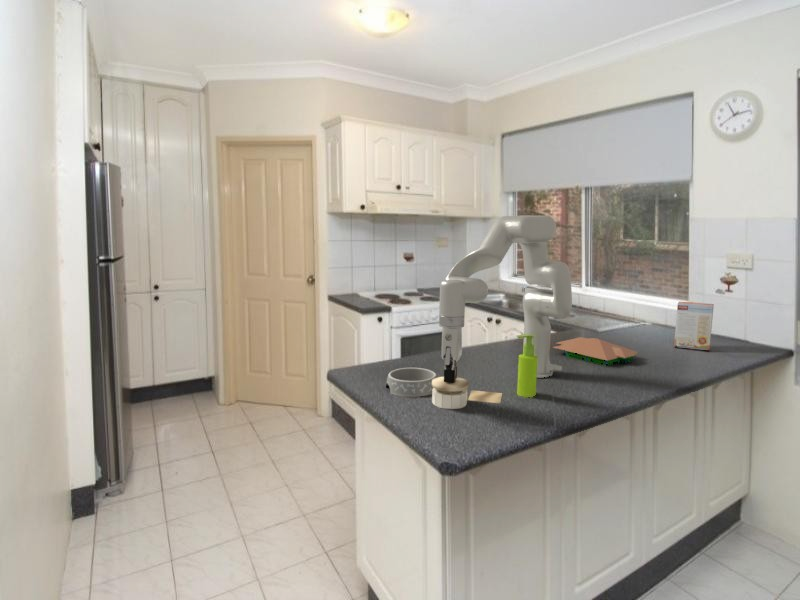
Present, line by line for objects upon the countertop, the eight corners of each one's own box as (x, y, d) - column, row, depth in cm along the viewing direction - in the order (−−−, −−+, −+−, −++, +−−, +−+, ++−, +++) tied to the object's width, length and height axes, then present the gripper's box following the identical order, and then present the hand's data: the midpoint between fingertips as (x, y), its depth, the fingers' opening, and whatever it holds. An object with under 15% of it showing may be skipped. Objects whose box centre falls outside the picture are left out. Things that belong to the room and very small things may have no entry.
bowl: (468, 400, 161) (469, 386, 161) (463, 411, 151) (464, 396, 151) (436, 396, 164) (436, 383, 163) (429, 408, 154) (429, 393, 153)
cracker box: (709, 349, 232) (714, 303, 229) (709, 352, 227) (714, 305, 224) (674, 345, 239) (678, 300, 236) (673, 347, 234) (677, 302, 231)
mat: (502, 394, 167) (502, 393, 167) (500, 404, 158) (500, 403, 157) (471, 391, 170) (471, 390, 170) (467, 401, 160) (467, 400, 160)
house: (613, 370, 198) (614, 349, 197) (543, 352, 224) (544, 334, 223) (644, 361, 212) (646, 342, 210) (575, 345, 238) (576, 328, 237)
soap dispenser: (511, 392, 169) (514, 333, 166) (532, 392, 169) (535, 332, 166) (517, 398, 163) (519, 337, 160) (538, 398, 164) (541, 336, 161)
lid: (470, 381, 161) (471, 362, 160) (465, 393, 150) (466, 372, 149) (435, 378, 164) (436, 359, 163) (428, 389, 153) (428, 369, 152)
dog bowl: (395, 400, 161) (395, 384, 160) (380, 383, 178) (380, 368, 178) (446, 395, 166) (446, 379, 165) (426, 379, 183) (427, 364, 182)
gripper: (460, 327, 145) (458, 389, 148) (467, 317, 161) (466, 374, 163) (434, 325, 147) (432, 387, 150) (444, 315, 163) (442, 372, 165)
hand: (450, 379), depth 156 cm, fingers closed on lid, 3 cm apart
